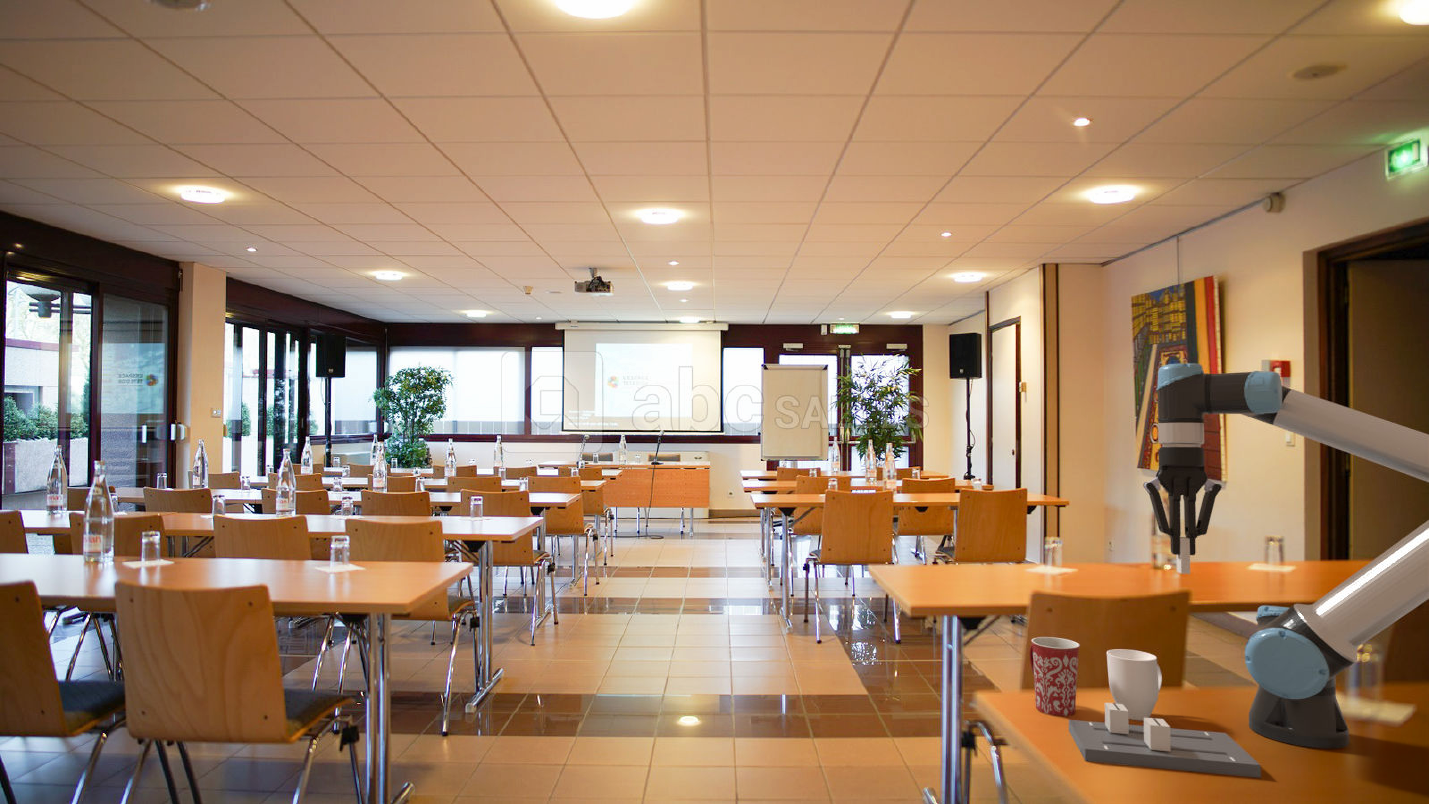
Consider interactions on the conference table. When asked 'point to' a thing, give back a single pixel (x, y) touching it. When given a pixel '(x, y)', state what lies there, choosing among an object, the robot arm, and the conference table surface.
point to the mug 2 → (1134, 681)
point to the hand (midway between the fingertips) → (1183, 572)
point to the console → (1185, 751)
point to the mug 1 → (1055, 674)
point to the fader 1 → (1116, 718)
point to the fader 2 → (1157, 734)
